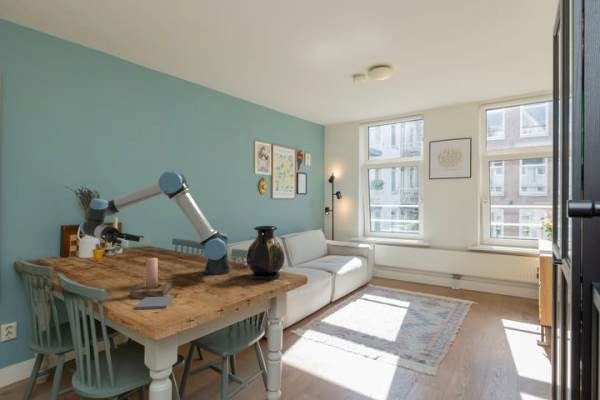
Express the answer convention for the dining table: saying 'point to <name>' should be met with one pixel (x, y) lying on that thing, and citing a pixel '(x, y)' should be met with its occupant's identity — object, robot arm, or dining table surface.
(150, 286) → the terracotta peg
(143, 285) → the walnut pocket block
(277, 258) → the amphora vase
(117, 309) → the dining table surface
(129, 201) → the robot arm
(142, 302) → the slate mat
